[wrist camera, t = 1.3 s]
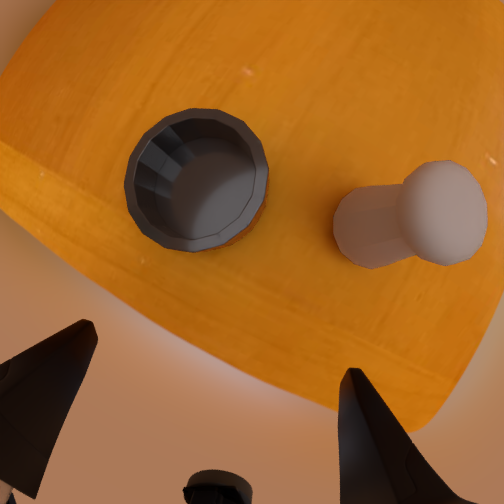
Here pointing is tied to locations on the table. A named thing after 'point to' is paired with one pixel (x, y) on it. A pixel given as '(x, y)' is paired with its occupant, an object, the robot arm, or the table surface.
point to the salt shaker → (414, 218)
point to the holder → (197, 181)
